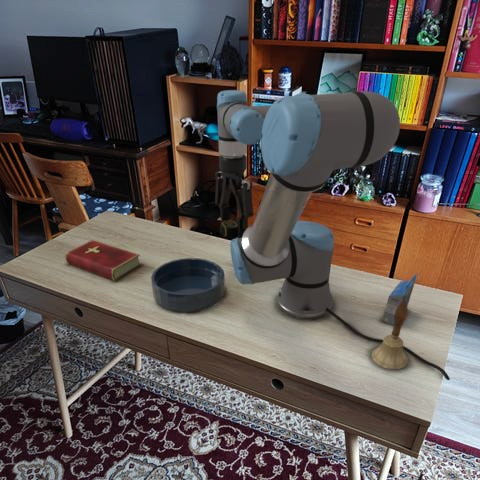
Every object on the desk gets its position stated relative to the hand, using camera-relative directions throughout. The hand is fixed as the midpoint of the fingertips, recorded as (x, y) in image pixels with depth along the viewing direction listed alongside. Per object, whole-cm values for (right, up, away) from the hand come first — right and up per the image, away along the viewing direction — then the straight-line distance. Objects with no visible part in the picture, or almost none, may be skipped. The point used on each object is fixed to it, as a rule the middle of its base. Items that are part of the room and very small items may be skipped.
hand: (234, 233), depth 132 cm
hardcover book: (-42, -8, +10) cm, 44 cm away
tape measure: (0, 0, 0) cm, 1 cm away
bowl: (-13, -18, -4) cm, 23 cm away
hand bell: (+37, -35, -27) cm, 58 cm away
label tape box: (+44, -25, -13) cm, 52 cm away
